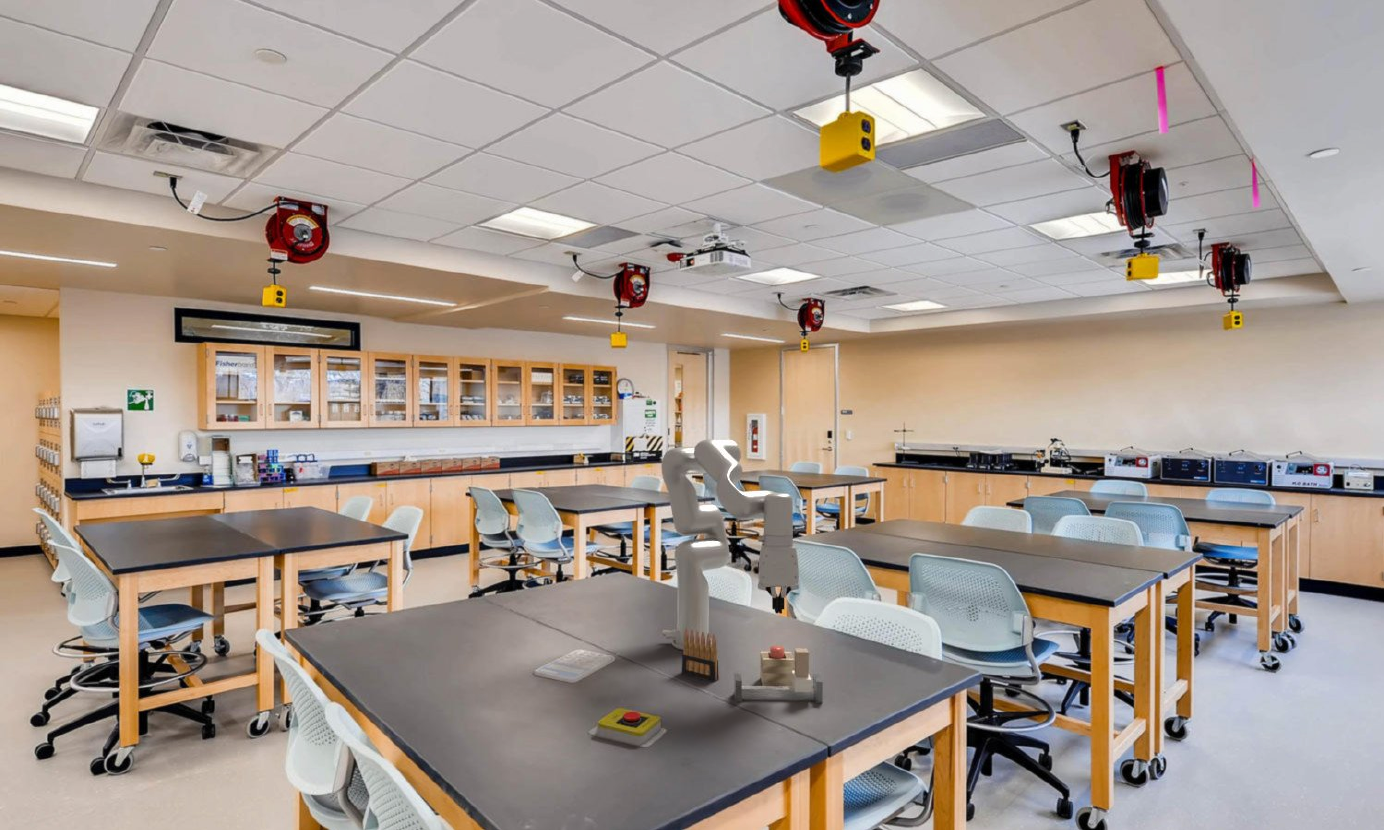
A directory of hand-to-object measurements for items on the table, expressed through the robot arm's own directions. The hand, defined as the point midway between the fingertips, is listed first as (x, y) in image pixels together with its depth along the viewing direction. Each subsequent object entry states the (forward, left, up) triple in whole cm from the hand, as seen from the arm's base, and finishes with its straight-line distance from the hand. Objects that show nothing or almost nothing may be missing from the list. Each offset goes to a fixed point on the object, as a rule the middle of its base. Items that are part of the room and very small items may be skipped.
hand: (778, 611), depth 178 cm
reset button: (0, 0, -13) cm, 13 cm away
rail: (-1, -10, -18) cm, 21 cm away
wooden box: (0, 0, -18) cm, 18 cm away
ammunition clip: (-20, +4, -19) cm, 28 cm away
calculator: (-54, +10, -19) cm, 58 cm away
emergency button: (-36, -29, -19) cm, 50 cm away
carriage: (+5, -10, -16) cm, 19 cm away
